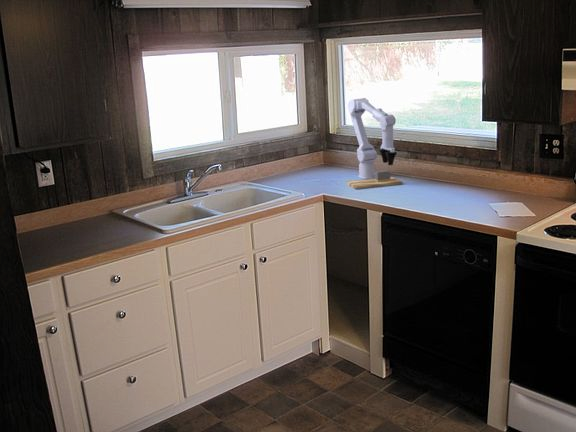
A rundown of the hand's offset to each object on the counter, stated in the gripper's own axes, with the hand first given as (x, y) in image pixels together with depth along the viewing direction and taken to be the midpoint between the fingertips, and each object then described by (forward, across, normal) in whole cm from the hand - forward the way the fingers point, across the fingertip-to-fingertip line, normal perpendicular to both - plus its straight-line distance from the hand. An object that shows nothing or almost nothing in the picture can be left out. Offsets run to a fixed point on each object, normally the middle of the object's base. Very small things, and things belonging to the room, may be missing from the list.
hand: (387, 163), depth 334 cm
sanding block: (+8, +2, -4) cm, 9 cm away
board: (+10, +2, -8) cm, 13 cm away
